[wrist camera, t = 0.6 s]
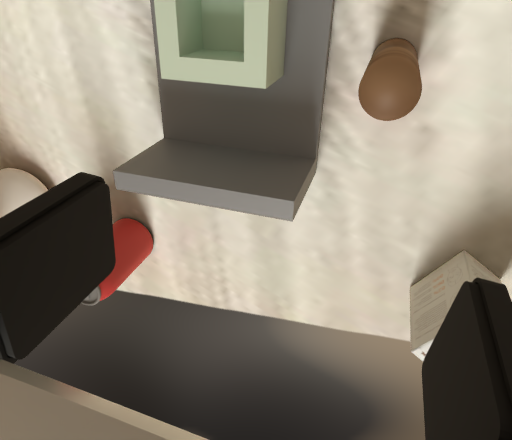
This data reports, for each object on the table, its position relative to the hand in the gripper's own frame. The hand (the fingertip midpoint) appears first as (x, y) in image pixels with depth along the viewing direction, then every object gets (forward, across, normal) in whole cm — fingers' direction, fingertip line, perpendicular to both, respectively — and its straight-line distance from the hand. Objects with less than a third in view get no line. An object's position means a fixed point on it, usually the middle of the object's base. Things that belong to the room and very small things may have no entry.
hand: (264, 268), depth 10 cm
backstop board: (+33, +12, +2) cm, 35 cm away
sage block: (+32, +13, -3) cm, 34 cm away
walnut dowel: (+33, -3, -1) cm, 33 cm away
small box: (+33, -16, +21) cm, 42 cm away
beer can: (+33, +26, +28) cm, 51 cm away
